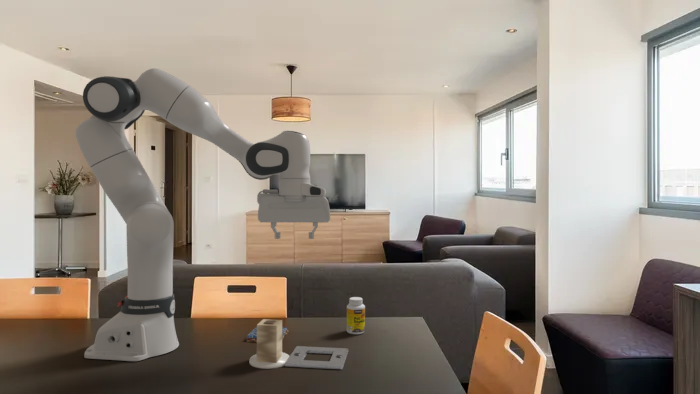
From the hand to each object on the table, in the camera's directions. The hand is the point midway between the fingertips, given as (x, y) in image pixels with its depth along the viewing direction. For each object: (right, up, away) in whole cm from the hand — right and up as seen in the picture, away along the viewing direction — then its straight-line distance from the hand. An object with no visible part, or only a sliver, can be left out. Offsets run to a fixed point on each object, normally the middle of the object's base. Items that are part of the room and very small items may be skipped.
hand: (294, 238), depth 124 cm
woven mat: (-8, -30, +5) cm, 31 cm away
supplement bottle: (+17, -29, +9) cm, 35 cm away
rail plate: (+8, -29, -12) cm, 33 cm away
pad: (-4, -29, -14) cm, 33 cm away
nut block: (-4, -29, -14) cm, 32 cm away
